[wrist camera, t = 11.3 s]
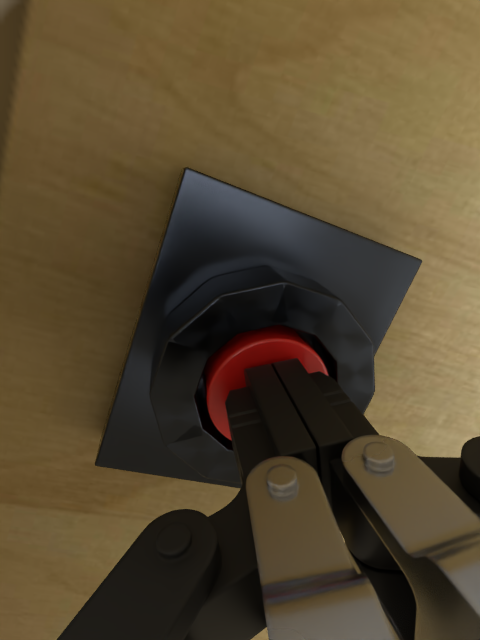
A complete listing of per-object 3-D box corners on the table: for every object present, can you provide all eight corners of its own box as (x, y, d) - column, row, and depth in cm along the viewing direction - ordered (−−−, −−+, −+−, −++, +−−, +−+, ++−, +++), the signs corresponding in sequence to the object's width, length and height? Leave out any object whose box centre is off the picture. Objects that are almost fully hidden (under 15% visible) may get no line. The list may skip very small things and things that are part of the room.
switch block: (289, 468, 17) (319, 538, 14) (101, 434, 15) (83, 509, 11) (394, 250, 14) (463, 274, 11) (182, 166, 12) (189, 165, 9)
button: (285, 424, 14) (301, 458, 12) (186, 403, 13) (190, 437, 11) (327, 333, 13) (350, 357, 11) (223, 302, 12) (233, 323, 10)
